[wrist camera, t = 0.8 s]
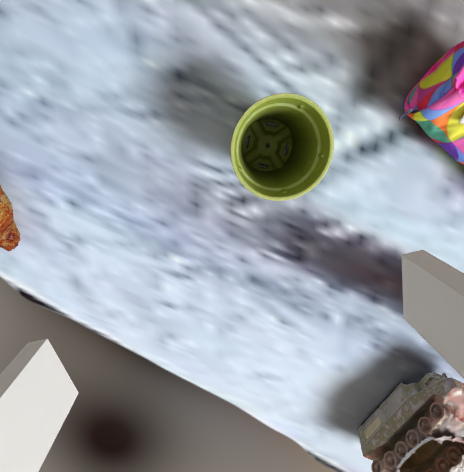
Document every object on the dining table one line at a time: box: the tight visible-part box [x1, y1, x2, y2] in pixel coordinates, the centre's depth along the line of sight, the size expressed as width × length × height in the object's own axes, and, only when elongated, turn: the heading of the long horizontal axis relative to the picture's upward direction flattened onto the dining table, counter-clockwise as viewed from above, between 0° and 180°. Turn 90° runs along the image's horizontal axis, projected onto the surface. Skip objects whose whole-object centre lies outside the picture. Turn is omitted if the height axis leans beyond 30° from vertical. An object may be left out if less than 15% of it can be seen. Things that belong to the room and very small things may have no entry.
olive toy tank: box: [358, 372, 464, 472], centre depth 45 cm, size 13×20×10 cm, turn 145°
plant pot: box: [231, 93, 334, 201], centre depth 31 cm, size 9×9×9 cm
